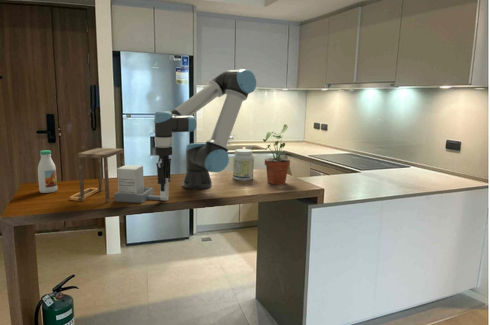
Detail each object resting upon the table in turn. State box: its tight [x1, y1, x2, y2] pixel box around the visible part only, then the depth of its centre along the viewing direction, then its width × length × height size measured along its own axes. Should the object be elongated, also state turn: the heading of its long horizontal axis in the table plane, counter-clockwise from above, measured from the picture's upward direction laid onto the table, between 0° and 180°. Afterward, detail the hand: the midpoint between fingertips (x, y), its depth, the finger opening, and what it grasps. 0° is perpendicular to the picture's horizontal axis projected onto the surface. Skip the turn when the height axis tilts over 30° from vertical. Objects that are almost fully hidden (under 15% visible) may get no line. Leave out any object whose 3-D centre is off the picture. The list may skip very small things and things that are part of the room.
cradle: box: [113, 178, 170, 204], centre depth 164 cm, size 22×13×10 cm, turn 84°
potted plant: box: [262, 124, 291, 186], centre depth 198 cm, size 16×15×35 cm
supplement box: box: [116, 164, 145, 195], centre depth 163 cm, size 9×9×15 cm
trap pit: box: [68, 187, 100, 202], centre depth 168 cm, size 5×17×1 cm, turn 174°
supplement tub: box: [232, 148, 255, 182], centre depth 208 cm, size 12×12×17 cm
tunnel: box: [77, 147, 125, 203], centre depth 165 cm, size 13×18×22 cm
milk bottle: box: [37, 149, 58, 194], centre depth 171 cm, size 8×8×20 cm
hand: (164, 196), depth 164 cm, fingers closed on cradle, 2 cm apart
